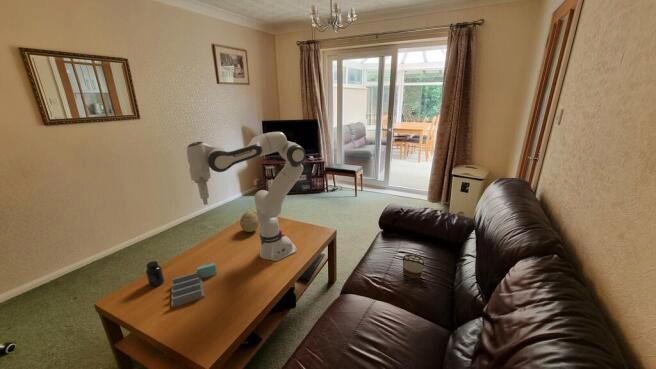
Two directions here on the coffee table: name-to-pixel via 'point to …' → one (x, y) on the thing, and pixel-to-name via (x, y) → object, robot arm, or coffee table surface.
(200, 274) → the teal upright panel
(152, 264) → the supplement bottle
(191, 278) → the rack
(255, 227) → the fossilized egg
